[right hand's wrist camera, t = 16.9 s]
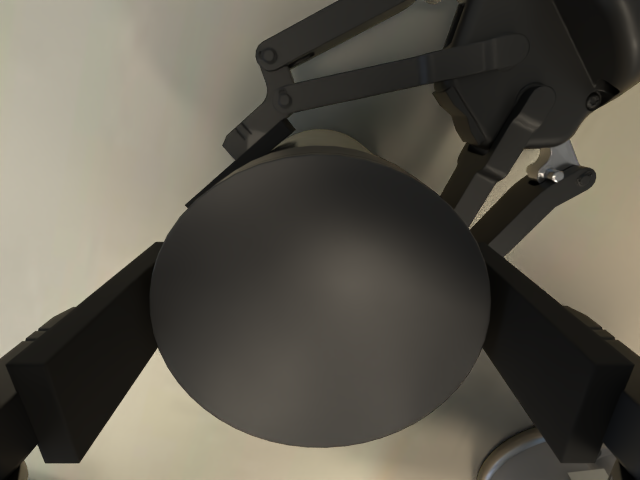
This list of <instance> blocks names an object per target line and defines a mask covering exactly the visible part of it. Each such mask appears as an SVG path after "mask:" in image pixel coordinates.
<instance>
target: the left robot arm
mask: <svg viewBox="0 0 640 480" xmlns="http://www.w3.org/2000/svg"><path fill="white" fill-rule="evenodd" d="M415 1H416V0H338V1H336V2H335V3H333V4H331V5H329V6H327V7H325V8H324V9H322V10H320V11H318V12H316V13H315V14H313V15H311V16H309V17H307V18H305V19H304V20H302V21H300V22H298V23H296V24H294V25H293V26H291V27H289V28H287V29H285V30H283V31H282V32H280V33H278V34H276V35H274V36H272V37H271V38H269V39H267V40H265V41H263V42H262V43H261V44H260V45H259V46H258V48H257V50H256V60H257V63H258V64H259V66H260V68H261V71H262V73H263V76H264V79H265V82H266V85H267V96H266V98H265V100H264V102H263V103H262V104H261V105H260V106H259V107H258V108H257V109H255V110H254V111H253V112H252V113H251V114H250V115H249V116H248V117H247V118H246V119H244V120H243V121H242V122H241V123H240V124H239V125H238V126H237V127H236V128H235V129H234V130H232V131H231V132H230V133H229V134H228V135H227V136H226V138H225V141H224V143H223V145H222V146H223V147H224V148H225V149H226V150H227V152H228V153H229V154H230V155H231V156H232V157H233V158H234V159H235V161H234V162H233V163H232V164H231V165H230V166H229V167H227V168H226V169H225V170H224V171H223V172H222V173H221V174H220V175H218V176H217V177H216V178H215V179H214V180H213V181H212V182H210V183H209V184H208V185H207V186H206V187H205V188H204V189H203V190H201V191H200V192H199V193H198V194H197V195H196V196H195V197H193V198H192V199H191V200H190V201H189V202H188V203H187V204H186V205H185V206H186V207H187V208H189V207H190V206H191V205H192V204H193V203H194V201H195V200H197V199H198V198H199V197H200V196H202V195H203V194H204V193H205V192H207V191H208V190H209V189H211V188H212V187H213V186H214V185H216V184H217V183H219V182H220V181H221V180H223V179H224V178H225V177H227V176H228V175H229V174H231V173H232V172H234V171H235V170H237V169H239V168H240V167H242V166H244V165H246V164H247V163H249V162H251V161H253V160H255V159H258V158H260V157H263V156H265V155H267V154H268V153H269V152H270V151H272V150H273V149H274V148H275V147H276V146H277V145H279V144H280V143H281V142H282V141H283V140H284V139H286V138H287V137H288V136H289V135H290V134H291V133H292V132H294V131H295V128H294V127H293V126H292V125H291V123H290V122H289V121H288V119H287V118H288V117H289V116H290V115H292V114H293V113H295V112H300V111H304V110H309V109H314V108H318V107H323V106H328V105H332V104H337V103H342V102H346V101H351V100H356V99H360V98H365V97H370V96H374V95H379V94H384V93H388V92H393V91H398V90H402V89H407V88H412V87H417V86H421V85H426V84H431V83H434V89H435V92H433V93H432V94H433V95H434V97H435V98H436V100H437V101H438V103H439V105H440V106H441V107H442V108H444V109H445V110H446V111H447V112H448V113H449V114H450V115H451V116H452V119H453V122H454V126H455V129H456V131H457V133H458V134H459V136H460V138H461V139H462V141H463V142H467V143H466V144H465V146H464V148H463V150H462V151H461V153H460V155H459V157H458V165H457V167H456V169H455V171H454V173H453V174H452V176H451V178H450V180H449V181H448V183H447V185H446V187H445V188H444V190H443V192H442V194H441V196H440V197H441V198H442V199H443V200H445V201H446V202H447V203H448V204H449V205H450V206H451V207H452V208H453V209H454V210H455V211H456V213H457V214H458V215H459V216H460V217H461V219H462V220H463V221H464V222H465V223H466V225H467V227H469V226H470V224H471V222H472V221H473V219H474V218H475V216H476V214H477V213H478V211H479V210H480V208H481V206H482V205H483V203H484V201H485V200H486V198H487V197H488V195H489V193H490V192H491V190H492V189H493V187H494V185H495V184H496V183H497V182H498V181H500V180H502V179H504V178H505V177H506V176H507V174H508V173H509V171H510V170H511V168H512V166H513V165H514V163H515V162H516V160H517V158H518V157H519V155H520V154H521V152H522V150H523V149H537V148H540V155H539V157H538V159H537V160H536V161H535V162H534V163H533V164H530V165H529V166H528V167H527V169H526V172H527V173H528V175H527V176H525V177H524V178H522V179H521V180H519V181H518V182H517V183H515V184H514V185H513V186H512V187H511V188H510V189H509V190H508V191H507V192H506V193H505V194H504V195H503V196H502V197H501V198H500V199H499V200H498V201H497V202H496V203H495V204H494V205H493V206H492V207H491V209H490V210H489V211H488V212H487V213H486V214H485V215H484V216H483V217H482V218H481V219H480V220H479V221H478V222H477V223H476V224H475V225H474V226H473V227H472V228H471V229H470V231H471V233H472V235H473V236H474V238H475V240H476V241H477V242H485V243H486V244H487V245H488V246H490V247H491V248H492V249H493V250H495V251H496V252H497V253H498V254H499V255H501V256H502V257H504V256H505V255H506V254H507V253H508V252H509V251H510V250H511V249H512V248H513V247H514V246H515V245H516V244H518V243H519V242H520V241H521V240H522V239H523V238H524V237H525V236H526V235H527V234H528V233H529V232H530V231H531V230H532V229H533V228H534V227H535V226H536V225H537V224H538V223H539V222H540V221H541V220H542V219H543V218H544V217H545V216H546V215H548V214H549V213H550V212H551V211H552V210H553V209H554V208H555V207H556V206H558V205H560V204H562V203H564V202H565V201H567V200H569V199H571V198H573V197H575V196H577V195H578V194H580V193H582V192H584V191H586V190H588V189H589V188H590V187H592V185H593V184H594V183H595V180H596V173H595V171H594V170H593V169H591V168H588V167H584V166H580V165H579V163H578V160H577V158H576V155H575V152H574V150H573V147H572V144H571V142H570V138H571V137H572V136H573V135H574V134H575V132H576V131H577V129H578V127H579V126H580V124H581V123H582V122H583V121H584V119H585V118H586V117H587V116H588V115H589V114H590V113H592V112H593V111H594V110H596V109H598V108H599V107H601V106H603V105H605V104H607V103H608V102H610V101H612V100H614V99H615V98H617V97H618V96H620V95H622V94H623V93H624V92H626V91H627V90H629V89H630V88H632V87H633V86H634V85H636V84H637V83H639V82H640V0H457V1H458V2H459V5H458V8H457V11H456V14H455V16H454V19H453V22H452V25H451V28H450V31H449V33H448V36H447V39H446V42H445V45H444V48H443V50H440V51H435V52H431V53H427V54H423V55H420V56H417V57H412V58H408V59H403V60H399V61H394V62H389V63H385V64H380V65H376V66H371V67H367V68H362V69H358V70H353V71H349V72H344V73H339V74H335V75H330V76H326V77H321V78H317V79H312V80H308V81H303V82H298V83H294V80H293V77H292V74H291V71H290V70H291V69H293V68H295V67H297V66H298V65H300V64H302V63H304V62H306V61H308V60H310V59H312V58H314V57H316V56H317V55H319V54H321V53H323V52H325V51H327V50H329V49H331V48H333V47H335V46H337V45H338V44H340V43H342V42H344V41H346V40H348V39H350V38H352V37H354V36H356V35H357V34H359V33H361V32H363V31H365V30H367V29H369V28H371V27H373V26H375V25H376V24H378V23H380V22H382V21H384V20H386V19H388V18H390V17H392V16H394V15H396V14H397V13H399V12H401V11H402V10H404V9H406V8H407V7H409V6H410V5H411V4H413V3H414V2H415ZM424 1H425V2H426V3H429V4H436V3H439V2H440V1H442V0H424ZM615 461H616V457H615V456H614V455H613V454H612V453H611V452H610V450H609V449H608V448H607V447H606V446H605V444H604V443H603V444H602V447H601V449H600V452H599V454H598V457H597V459H596V462H595V463H560V461H559V460H558V458H557V457H556V455H555V454H554V453H553V451H552V450H551V448H550V447H549V445H548V444H547V442H546V441H545V439H544V438H543V436H542V435H541V433H540V432H539V430H538V429H537V427H534V428H531V429H529V430H526V431H524V432H521V433H519V434H517V435H515V436H513V437H512V438H510V439H508V440H507V441H505V442H504V443H502V444H501V445H500V446H498V447H497V448H496V449H495V450H494V451H493V452H492V453H491V454H490V455H489V456H488V457H487V459H486V460H485V461H484V463H483V465H482V466H481V468H480V471H479V473H478V476H477V480H608V477H609V475H610V473H611V470H612V468H613V466H614V463H615Z"/></svg>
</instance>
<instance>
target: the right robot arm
mask: <svg viewBox="0 0 640 480" xmlns="http://www.w3.org/2000/svg"><path fill="white" fill-rule="evenodd" d="M163 243H164V242H155V243H154V244H153V245H152V246H150V247H149V248H148V249H147V250H145V251H144V252H143V253H142V254H141V255H139V256H138V257H137V258H136V259H134V260H133V261H132V262H131V263H129V264H128V265H127V266H126V267H125V268H123V269H122V270H121V271H120V272H118V273H117V274H116V275H115V276H113V277H112V278H111V279H110V280H109V281H107V282H106V283H105V284H104V285H102V286H101V287H100V288H99V289H97V290H96V291H95V292H94V293H93V294H91V295H90V296H89V297H88V298H86V299H85V300H84V301H83V302H82V303H80V304H79V305H78V306H77V307H72V308H70V309H68V310H66V311H64V312H62V313H60V314H59V315H57V316H55V317H53V318H52V319H50V320H49V321H48V322H46V323H45V324H44V325H43V326H41V327H40V328H39V329H38V331H35V332H34V333H32V334H31V335H30V336H29V337H27V338H26V341H22V342H21V343H20V344H18V345H17V346H16V347H15V348H13V349H12V350H11V351H9V352H8V353H7V354H6V355H4V356H3V357H2V358H0V480H27V479H28V470H27V466H26V463H25V461H24V460H25V458H26V457H27V456H28V455H29V454H30V452H31V451H32V450H33V449H34V448H35V446H36V445H37V444H38V447H39V449H40V452H41V454H42V457H43V459H44V462H45V463H80V461H81V460H82V458H83V457H84V455H85V454H86V453H87V451H88V450H89V448H90V447H91V445H92V444H93V442H94V441H95V439H96V438H97V436H98V435H99V433H100V432H101V430H102V429H103V427H104V426H105V425H106V423H107V422H108V420H109V419H110V417H111V416H112V414H113V413H114V411H115V410H116V408H117V407H118V405H119V404H120V402H121V401H122V399H123V398H124V397H125V395H126V394H127V392H128V391H129V389H130V388H131V386H132V385H133V383H134V382H135V380H136V379H137V377H138V376H139V374H140V373H141V371H142V370H143V369H144V367H145V366H146V364H147V363H148V361H149V360H150V358H151V357H152V355H153V354H154V352H155V351H156V349H157V348H158V345H157V342H156V339H155V337H154V334H153V329H152V323H151V317H150V298H149V294H150V286H151V279H152V273H153V269H154V266H155V263H156V259H157V256H158V253H159V251H160V249H161V247H162V245H163ZM477 243H478V246H479V248H480V251H481V253H482V256H483V258H484V260H485V264H486V268H487V272H488V276H489V281H490V292H491V310H490V322H489V326H488V330H487V334H486V338H485V341H484V344H483V346H482V348H483V349H484V351H485V352H486V354H487V355H488V357H489V358H490V360H491V361H492V363H493V364H494V366H495V367H496V369H497V370H498V371H499V373H500V374H501V376H502V377H503V379H504V380H505V382H506V383H507V385H508V386H509V388H510V389H511V391H512V392H513V394H514V395H515V397H516V398H517V399H518V401H519V402H520V404H521V405H522V407H523V408H524V410H525V411H526V413H527V414H528V416H529V417H530V419H531V420H532V422H533V423H534V425H535V426H536V427H537V429H538V430H539V432H540V433H541V435H542V436H543V438H544V439H545V441H546V442H547V444H548V445H549V447H550V448H551V450H552V451H553V453H554V454H555V455H556V457H557V458H558V460H559V461H560V463H595V462H596V459H597V457H598V454H599V452H600V449H601V447H602V444H603V443H604V444H605V446H606V447H607V448H608V449H609V450H610V452H611V453H612V454H613V455H614V456H615V457H616V461H615V463H614V466H613V468H612V470H611V473H610V475H609V477H608V480H640V357H639V356H638V355H637V354H636V353H634V352H633V351H632V350H630V349H629V348H628V347H627V346H625V345H624V344H623V343H621V342H620V341H619V340H615V337H614V336H612V335H611V334H610V333H609V332H607V331H606V330H602V327H601V326H599V325H598V324H597V323H596V322H594V321H593V320H592V319H590V318H589V317H588V316H586V315H584V314H582V313H580V312H578V311H576V310H574V309H572V308H570V307H568V306H562V305H561V304H560V303H559V302H557V301H556V300H555V299H554V298H552V297H551V296H550V295H549V294H547V293H546V292H545V291H544V290H543V289H541V288H540V287H539V286H538V285H536V284H535V283H534V282H533V281H531V280H530V279H529V278H528V277H527V276H525V275H524V274H523V273H522V272H520V271H519V270H518V269H517V268H515V267H514V266H513V265H512V264H511V263H509V262H508V261H507V260H506V259H504V258H503V257H502V256H501V255H499V254H498V253H497V252H496V251H495V250H493V249H492V248H491V247H490V246H488V245H487V244H486V243H485V242H477Z"/></svg>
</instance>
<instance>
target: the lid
mask: <svg viewBox="0 0 640 480" xmlns="http://www.w3.org/2000/svg"><path fill="white" fill-rule="evenodd" d="M149 298H150V317H151V323H152V329H153V334H154V337H155V339H156V342H157V345H158V348H159V351H160V353H161V355H162V357H163V359H164V361H165V363H166V365H167V367H168V369H169V370H170V372H171V373H172V375H173V376H174V377H175V379H176V380H177V382H178V383H179V384H180V385H181V387H182V388H183V389H184V390H185V391H186V392H187V393H188V395H189V396H190V397H191V398H193V399H194V400H195V401H196V402H197V403H198V404H199V405H200V406H201V407H203V408H204V409H205V410H207V411H208V412H209V413H211V414H212V415H214V416H215V417H216V418H218V419H219V420H221V421H223V422H225V423H226V424H228V425H230V426H232V427H234V428H235V429H238V430H240V431H242V432H245V433H247V434H249V435H252V436H255V437H258V438H261V439H264V440H267V441H271V442H276V443H280V444H285V445H291V446H300V447H316V448H328V447H341V446H349V445H355V444H361V443H365V442H369V441H373V440H376V439H380V438H383V437H385V436H388V435H391V434H393V433H396V432H398V431H400V430H402V429H404V428H406V427H408V426H410V425H412V424H414V423H416V422H418V421H419V420H421V419H422V418H424V417H425V416H427V415H428V414H430V413H431V412H433V411H434V410H435V409H436V408H437V407H439V406H440V405H441V404H442V403H444V402H445V401H446V400H447V399H448V398H449V397H450V396H451V395H452V394H453V393H454V392H455V391H456V390H457V388H458V387H459V386H460V385H461V383H462V382H463V381H464V379H465V378H466V377H467V375H468V374H469V373H470V371H471V369H472V367H473V365H474V364H475V362H476V360H477V358H478V357H479V354H480V351H481V349H482V346H483V344H484V341H485V338H486V334H487V330H488V326H489V322H490V310H491V292H490V281H489V276H488V272H487V268H486V264H485V260H484V258H483V256H482V253H481V251H480V248H479V246H478V243H477V241H476V240H475V238H474V236H473V235H472V233H471V231H470V230H469V228H468V227H467V225H466V223H465V222H464V221H463V220H462V219H461V217H460V216H459V215H458V214H457V213H456V211H455V210H454V209H453V208H452V207H451V206H450V205H449V204H448V203H447V202H446V201H445V200H443V199H442V198H441V197H440V196H439V195H438V194H437V193H435V192H434V191H433V190H432V189H430V188H429V187H428V186H426V185H425V184H423V183H422V182H421V181H419V180H418V179H417V178H415V177H414V176H412V175H411V174H409V173H408V172H406V171H405V170H403V169H402V168H400V167H399V166H397V165H395V164H393V163H391V162H389V161H387V160H385V159H383V158H381V157H378V156H376V155H373V154H370V153H366V152H363V151H360V150H356V149H351V148H344V147H338V146H316V145H313V146H304V147H295V148H289V149H285V150H281V151H277V152H273V153H270V154H268V155H265V156H263V157H260V158H258V159H255V160H253V161H251V162H249V163H247V164H246V165H244V166H242V167H240V168H239V169H237V170H235V171H234V172H232V173H231V174H229V175H228V176H227V177H225V178H224V179H223V180H221V181H220V182H219V183H217V184H216V185H214V186H213V187H212V188H211V189H209V190H208V191H207V192H205V193H204V194H203V195H202V196H200V197H199V198H198V199H197V200H195V201H194V203H193V204H192V205H191V206H190V207H189V208H188V209H187V210H186V211H185V212H184V213H183V214H182V215H181V216H180V217H179V219H178V220H177V222H176V223H175V225H174V226H173V228H172V229H171V230H170V232H169V233H168V235H167V237H166V239H165V241H164V243H163V245H162V247H161V249H160V251H159V253H158V256H157V259H156V263H155V266H154V269H153V273H152V279H151V286H150V294H149Z"/></svg>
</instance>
